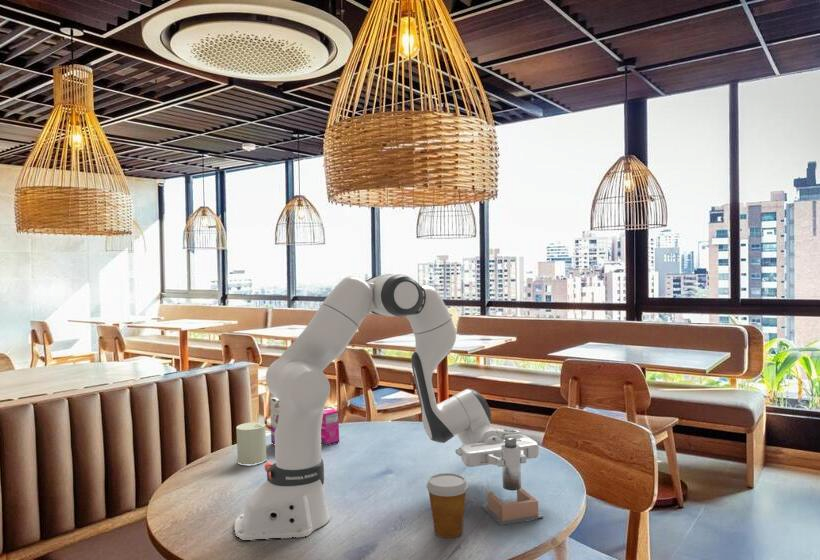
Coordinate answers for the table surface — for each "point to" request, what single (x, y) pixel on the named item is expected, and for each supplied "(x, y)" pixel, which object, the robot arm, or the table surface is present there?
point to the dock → (512, 508)
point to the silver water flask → (511, 464)
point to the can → (251, 442)
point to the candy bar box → (274, 416)
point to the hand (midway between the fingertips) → (512, 461)
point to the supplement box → (330, 427)
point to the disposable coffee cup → (447, 503)
